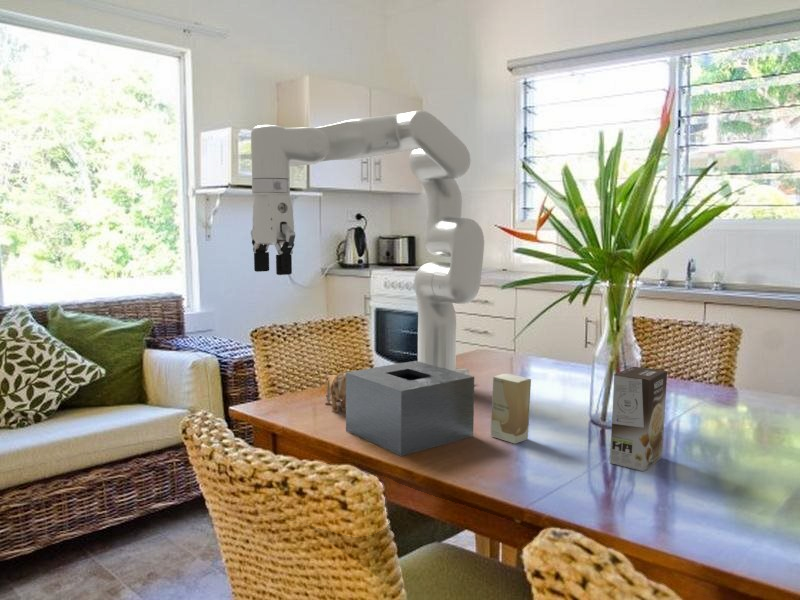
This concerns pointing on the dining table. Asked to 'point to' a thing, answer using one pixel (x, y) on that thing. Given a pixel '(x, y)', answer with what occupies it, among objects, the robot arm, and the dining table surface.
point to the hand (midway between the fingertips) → (272, 272)
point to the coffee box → (638, 417)
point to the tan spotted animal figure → (336, 391)
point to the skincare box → (510, 407)
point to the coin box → (409, 406)
